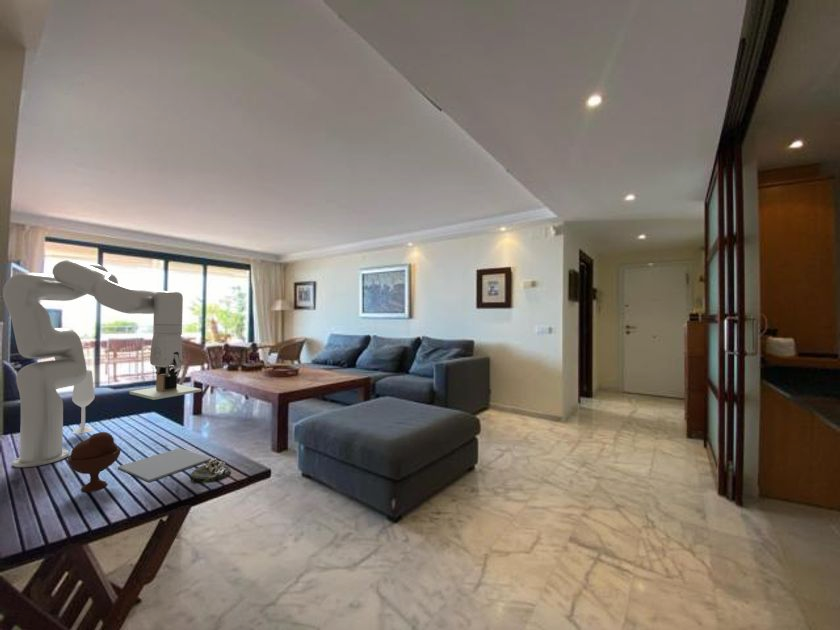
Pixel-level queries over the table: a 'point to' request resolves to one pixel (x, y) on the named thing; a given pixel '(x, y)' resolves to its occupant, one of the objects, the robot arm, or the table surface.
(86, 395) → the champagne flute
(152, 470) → the mat
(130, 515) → the table surface
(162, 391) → the cover
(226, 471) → the grey green irregular lump
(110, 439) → the ice cream bowl
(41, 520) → the table surface
